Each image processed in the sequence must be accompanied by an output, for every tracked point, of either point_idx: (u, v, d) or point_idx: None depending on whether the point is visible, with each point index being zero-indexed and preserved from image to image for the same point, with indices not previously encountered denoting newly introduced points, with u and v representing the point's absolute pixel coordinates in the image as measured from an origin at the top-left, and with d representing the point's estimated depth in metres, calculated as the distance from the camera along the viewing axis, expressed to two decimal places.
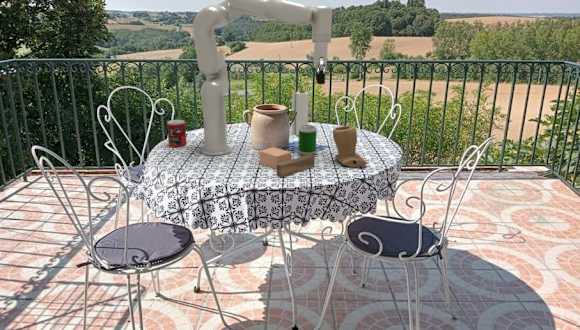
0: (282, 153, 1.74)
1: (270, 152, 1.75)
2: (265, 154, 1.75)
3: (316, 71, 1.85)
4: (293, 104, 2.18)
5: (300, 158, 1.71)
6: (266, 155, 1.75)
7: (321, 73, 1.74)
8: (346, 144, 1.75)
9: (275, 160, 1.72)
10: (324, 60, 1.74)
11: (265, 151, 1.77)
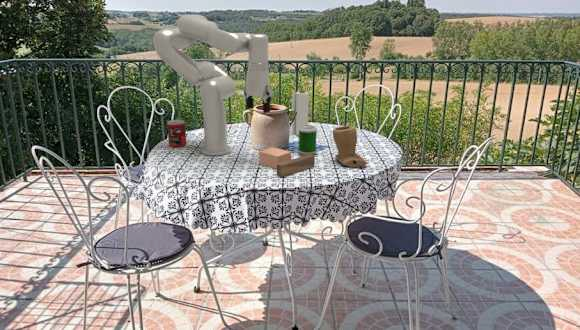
0: (282, 153, 1.75)
1: (270, 152, 1.75)
2: (265, 154, 1.75)
3: (247, 99, 1.80)
4: (293, 104, 2.18)
5: (300, 158, 1.71)
6: (266, 155, 1.74)
7: (269, 102, 1.74)
8: (346, 144, 1.75)
9: (276, 160, 1.72)
10: None
11: (265, 151, 1.77)
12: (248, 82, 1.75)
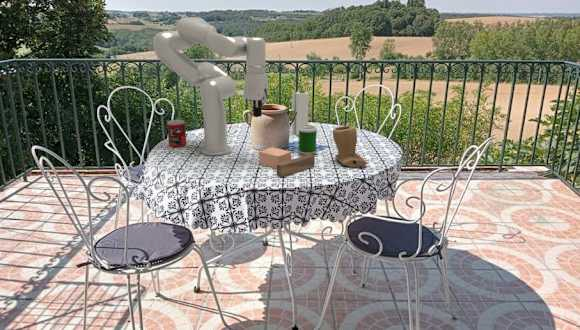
0: (283, 153, 1.75)
1: (270, 152, 1.75)
2: (265, 154, 1.75)
3: (253, 107, 1.77)
4: (293, 104, 2.18)
5: (300, 158, 1.71)
6: (267, 155, 1.74)
7: (260, 106, 1.77)
8: (346, 144, 1.75)
9: (276, 160, 1.72)
10: (266, 97, 1.75)
11: (265, 151, 1.76)
12: (246, 85, 1.76)
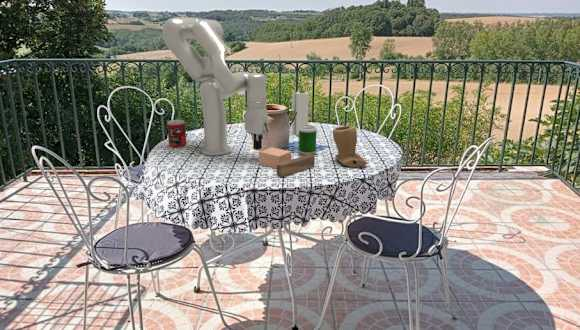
0: (283, 153, 1.75)
1: (270, 152, 1.75)
2: (266, 154, 1.74)
3: (254, 140, 1.82)
4: (293, 104, 2.18)
5: (300, 158, 1.71)
6: (267, 155, 1.74)
7: (260, 139, 1.81)
8: (346, 144, 1.75)
9: (277, 160, 1.72)
10: (266, 131, 1.79)
11: (265, 151, 1.76)
12: (247, 119, 1.80)
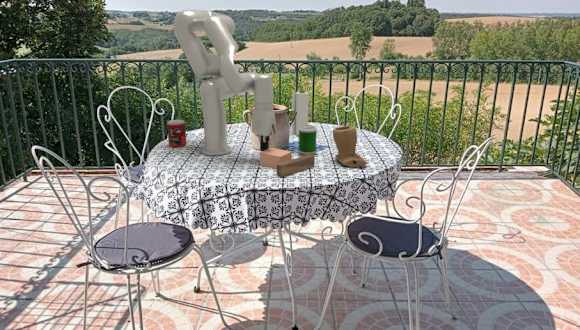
0: (284, 153, 1.75)
1: (271, 153, 1.75)
2: (266, 155, 1.74)
3: (261, 142, 1.79)
4: (293, 104, 2.18)
5: (300, 158, 1.71)
6: (268, 156, 1.74)
7: (267, 141, 1.79)
8: (346, 144, 1.75)
9: (278, 160, 1.72)
10: (273, 132, 1.77)
11: (266, 152, 1.76)
12: (254, 121, 1.77)
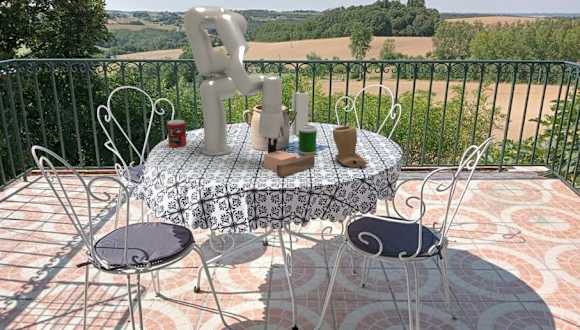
0: (287, 157, 1.70)
1: (275, 155, 1.71)
2: (270, 157, 1.71)
3: (268, 145, 1.76)
4: (293, 104, 2.18)
5: (300, 158, 1.71)
6: (271, 158, 1.70)
7: (275, 144, 1.76)
8: (346, 144, 1.75)
9: None
10: (281, 135, 1.74)
11: (270, 154, 1.72)
12: (262, 123, 1.74)
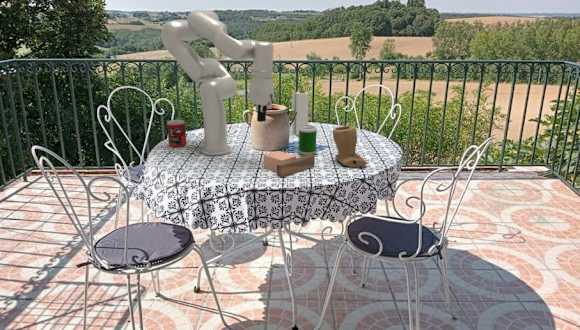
0: (287, 157, 1.70)
1: (275, 156, 1.71)
2: (270, 158, 1.70)
3: (258, 112, 1.76)
4: (293, 104, 2.18)
5: (300, 158, 1.71)
6: (271, 159, 1.70)
7: (265, 111, 1.75)
8: (346, 144, 1.75)
9: None
10: (271, 102, 1.73)
11: (270, 155, 1.72)
12: (252, 90, 1.74)
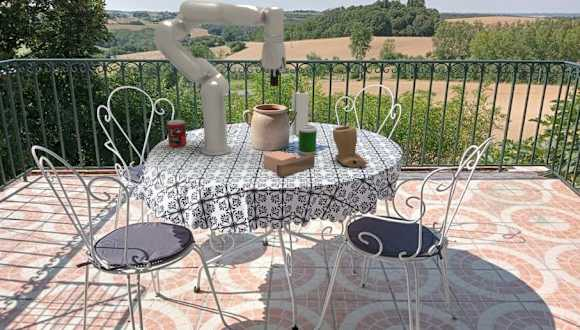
0: (287, 157, 1.70)
1: (275, 156, 1.71)
2: (270, 158, 1.70)
3: (271, 76, 1.81)
4: (293, 104, 2.18)
5: (300, 158, 1.71)
6: (271, 159, 1.70)
7: (277, 75, 1.80)
8: (346, 144, 1.75)
9: None
10: (283, 66, 1.78)
11: (270, 155, 1.72)
12: (264, 55, 1.79)
